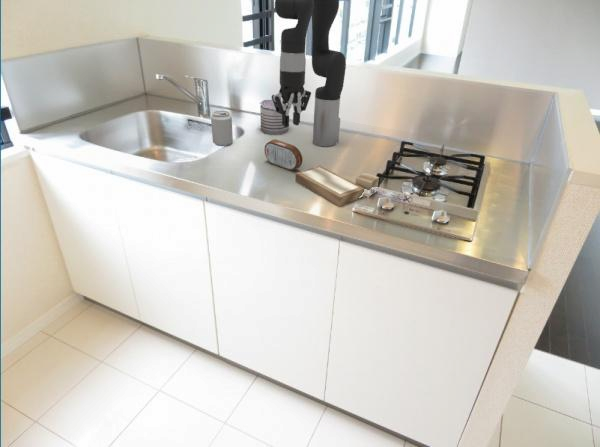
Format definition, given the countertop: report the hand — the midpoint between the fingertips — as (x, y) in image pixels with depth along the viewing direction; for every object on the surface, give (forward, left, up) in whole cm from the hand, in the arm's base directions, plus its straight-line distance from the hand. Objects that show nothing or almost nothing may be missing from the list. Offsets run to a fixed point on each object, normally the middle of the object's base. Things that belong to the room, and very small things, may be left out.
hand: (290, 125), depth 131 cm
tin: (0, -4, -16) cm, 16 cm away
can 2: (-18, -34, -16) cm, 42 cm away
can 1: (+6, -34, -16) cm, 38 cm away
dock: (-1, +18, -15) cm, 24 cm away
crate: (-9, +26, -15) cm, 32 cm away
